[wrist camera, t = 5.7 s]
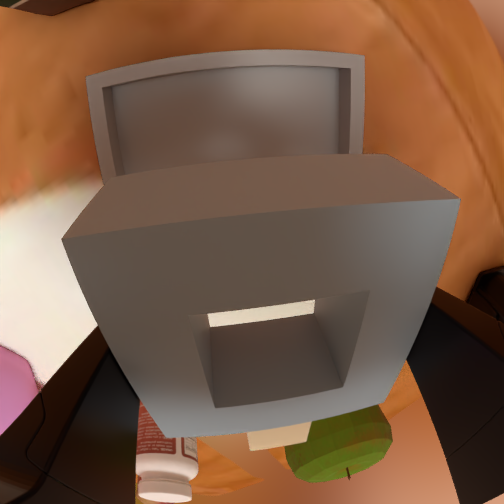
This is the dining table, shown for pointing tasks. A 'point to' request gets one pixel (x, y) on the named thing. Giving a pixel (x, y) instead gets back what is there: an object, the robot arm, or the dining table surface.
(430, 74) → the dining table surface
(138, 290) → the ring
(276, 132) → the tray
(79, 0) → the beer bottle
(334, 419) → the apple
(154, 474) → the pill bottle
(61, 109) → the dining table surface
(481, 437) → the robot arm
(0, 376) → the teakettle
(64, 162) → the dining table surface
